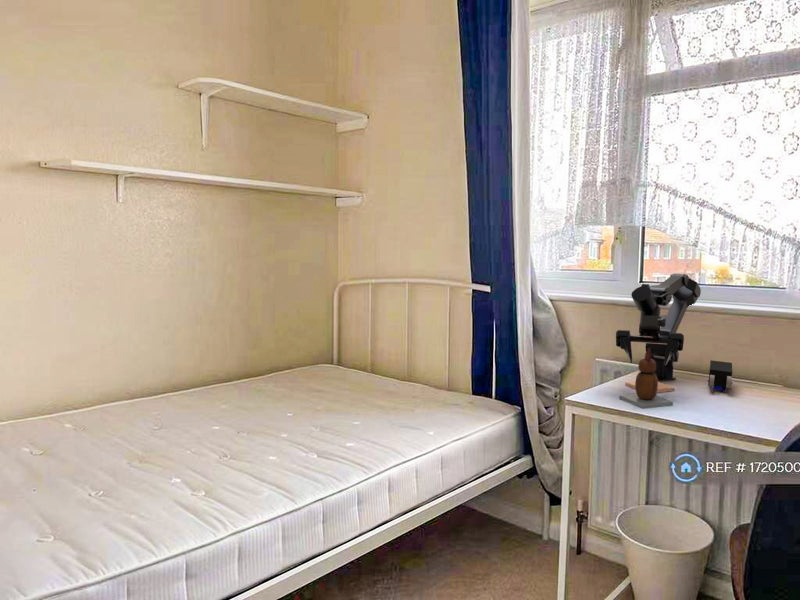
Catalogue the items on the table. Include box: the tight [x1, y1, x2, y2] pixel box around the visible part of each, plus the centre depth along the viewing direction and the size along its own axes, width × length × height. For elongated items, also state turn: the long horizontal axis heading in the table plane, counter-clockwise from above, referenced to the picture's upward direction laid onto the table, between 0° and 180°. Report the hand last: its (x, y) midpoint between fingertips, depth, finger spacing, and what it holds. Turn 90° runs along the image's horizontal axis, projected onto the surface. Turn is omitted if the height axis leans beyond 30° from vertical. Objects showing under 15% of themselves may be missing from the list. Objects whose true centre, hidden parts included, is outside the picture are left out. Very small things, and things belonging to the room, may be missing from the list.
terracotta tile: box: [624, 380, 676, 394], centre depth 186 cm, size 10×10×1 cm
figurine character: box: [707, 359, 733, 394], centre depth 184 cm, size 7×8×15 cm
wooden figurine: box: [635, 348, 659, 400], centre depth 170 cm, size 7×6×15 cm
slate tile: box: [619, 393, 674, 409], centre depth 171 cm, size 10×10×1 cm
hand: (647, 363), depth 177 cm, fingers open, 9 cm apart
